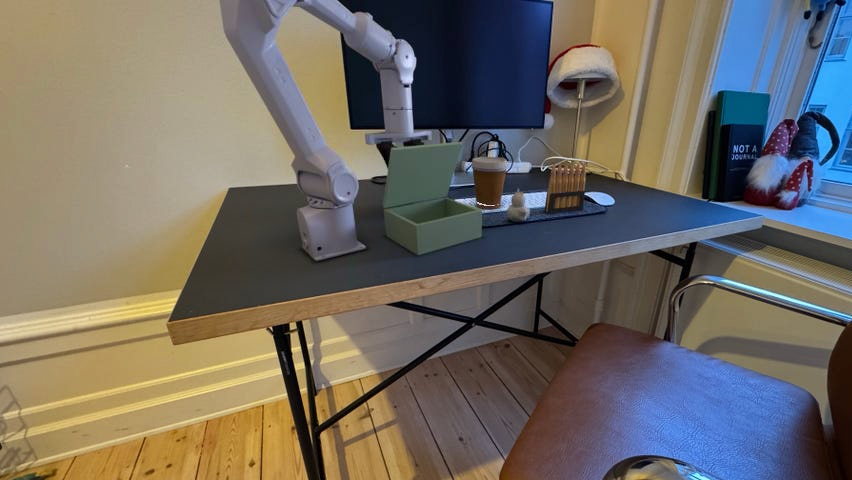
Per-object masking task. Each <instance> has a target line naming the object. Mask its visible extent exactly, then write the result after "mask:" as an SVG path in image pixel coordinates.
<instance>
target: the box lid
mask: <svg viewBox="0 0 852 480" xmlns="http://www.w3.org/2000/svg"><path fill="white" fill-rule="evenodd" d="M462 147H463V142H462V141H456V142H455V141H454V142H443V143H433V144H424V145H419V146H408V147H404V146H397V147H396V148H391V153H390V160H389V166H388V169H387V173H386V174H387V175H386V181H385V188H384V193H383V200H382V208H383V209H388V208H393V207H399V206H404V205H409V204H414V203H419V202H424V201H430V200H435V199H440V198H445V197H448V194H449V191H450V187H451V185H452V181H453V178H454V174H455V171H456V167H457V164H458V162H459V161H458V160H459V158H460V155H461V151H462Z"/></svg>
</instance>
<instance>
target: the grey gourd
mask: <svg viewBox="0 0 852 480" xmlns="http://www.w3.org/2000/svg"><path fill="white" fill-rule="evenodd" d="M510 202H511V204H510V205H509V206H508V207H507V209H506V218H507V219H509V220H510V221H512V222H515V223H519V222H524V221H526V220H527V219H528V218H529V217H530V213H531V210H530V208H529V207H527V206H526V205H525V204H526V197H525V194H524V192H523V191H520V188H519V187H517V191H515V192H514V194H513V195H512V196H511V201H510Z"/></svg>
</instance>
